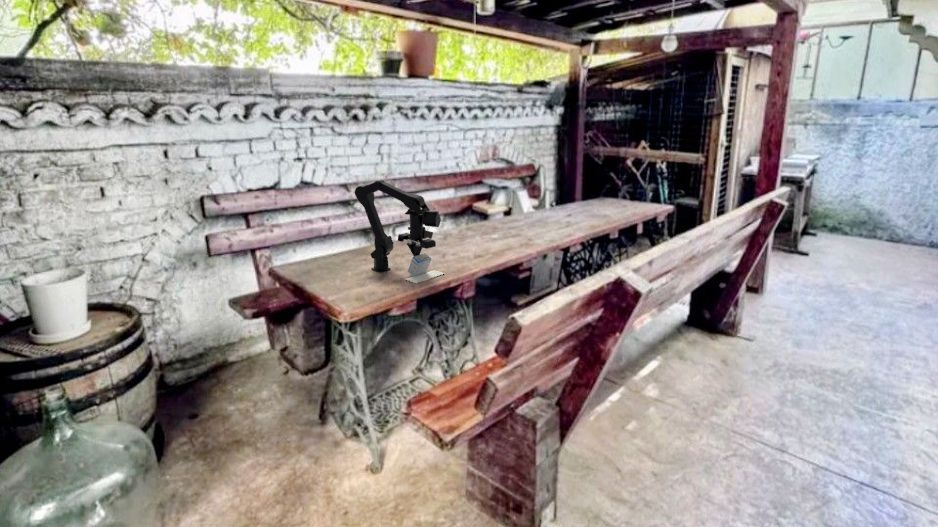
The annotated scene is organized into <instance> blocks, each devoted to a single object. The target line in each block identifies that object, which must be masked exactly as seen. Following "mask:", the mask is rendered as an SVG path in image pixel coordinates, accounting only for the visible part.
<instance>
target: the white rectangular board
mask: <svg viewBox="0 0 938 527" xmlns="http://www.w3.org/2000/svg"><path fill="white" fill-rule="evenodd" d="M443 274H444V275H445V274H446V273H445V272H442V271H438V270H436V269H433V270H431V271H426V273H423V274H420V275H417V276H414V277H413V276H411V277H407V278H405V279H404V281H406V280H407V281H406V282H409V281H410V282H409V283H411V282H413V283H412V284H414V283H416V284H419V283H418V282H420V283H422V282H421V281H423V282H425V280H426V281H428V279H429V280H432V279H434V277H435V278H437V276H438V277H441V276H444V275H443ZM440 275H441V276H440ZM431 278H432V279H431Z"/></svg>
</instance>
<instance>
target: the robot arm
mask: <svg viewBox="0 0 938 527" xmlns="http://www.w3.org/2000/svg"><path fill="white" fill-rule="evenodd" d="M354 189H355V190H354V196H355V198H356V199H357V201H358V202H359V203H360V204H361V206H362V207H363V209H364V212H365V214H366V217H367V220H368V222H369V225H370V227H371V230H372V233H373V237H374V242H373V244H374V248H375V249H374V250H373V251H372V252H371V253H370V257H371V259H373V267H371V270H373V271H375V272H379V273H383V272H385V271H389V270H391V269H392V268H391V267H389V257H388V256H389V255H390V254H391V252H392V251H393V249H394V244H395V243H394V241H393V240H392V239H393V238H392V236H391V235H388V234H387V233H386V232H385V230H384V227H383V225H382V222H381V218H380V216H379V213H378V210H377V208H376V205H375V193H377V192H378V191H379V192H382V193H384V194H386V195H387V196H390V197H391V198H393V199H396V200H398V201H400V202H401V203H402V204H403V205H404V206H405V207H407V208H408V209H407V210H406V212H405V213H404V215H409V226H408V227H407V230H408V231H409V232H404V233H400V234H398V236H397V241H398V242H404V241H405V240H406V241H407V243H406V246H408V248H409V250H410V252H411V254H412V257H414V256H417V255H421V252H422V250H423V249H431V248H434V247H436V245H437V243H436V240H434V239H433V235H434V232H433V231H430V230H427V229H426V227H432V228H439V227H440V225H441V221H442V220H441V219H442V218H441V216H440V214H439V211H438V210H430V208H429V206H428V205H427V203H426V201H425V198H424V197H423V196H422V195H420V194H416V193H412V192H411V193H410V192H406V191H404V190H402V189H400V188H399V187H396V186H394V185H392V184H390V183H389V182H387V181H385V180H383V179H379V180H376V181H374V182H372V183H369V184H362V185H358V186H357V187H355V188H354Z"/></svg>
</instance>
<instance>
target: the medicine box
mask: <svg viewBox="0 0 938 527" xmlns="http://www.w3.org/2000/svg"><path fill="white" fill-rule="evenodd" d="M410 261H411V262H410V263H409V266H408V268H407V273H409V275H411V277H414V276H417V275H420V274H423V273H427V272H428V268H429V266H430V263H431V261H432V258H431V257H430V255H428V254H427V253H424V252H423V253H420V255H417V256H412V258H411V260H410Z"/></svg>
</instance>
